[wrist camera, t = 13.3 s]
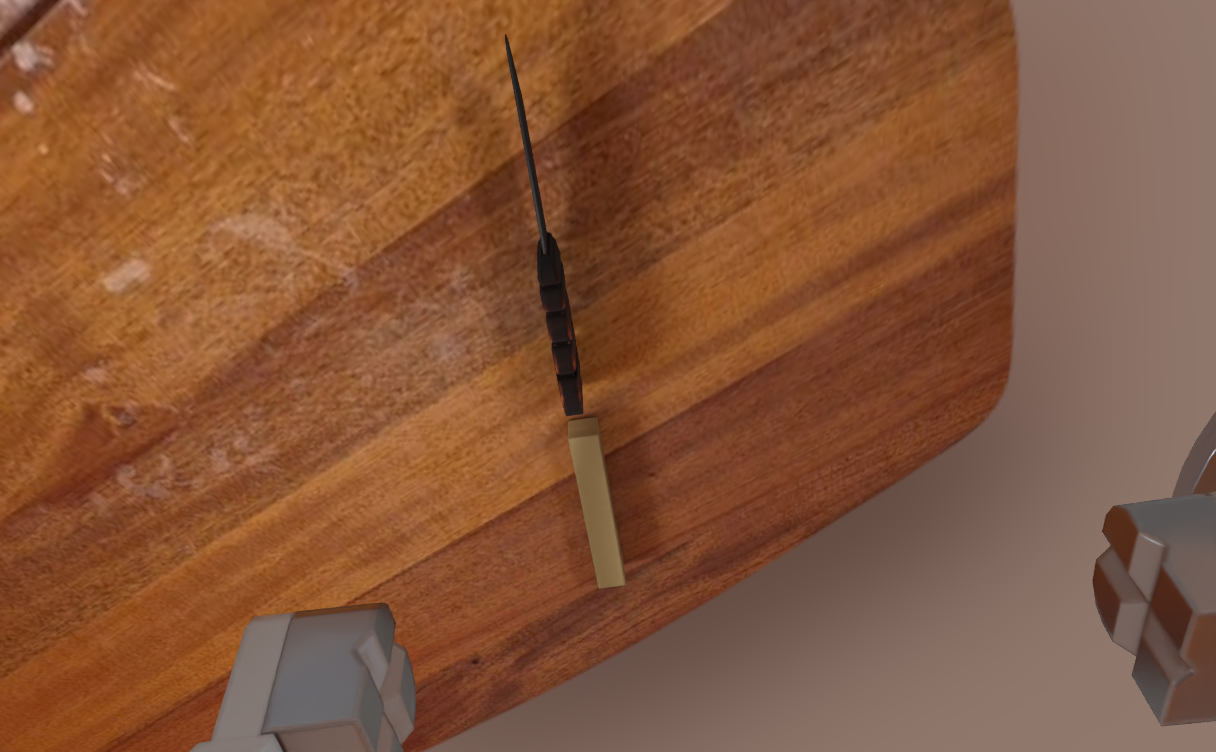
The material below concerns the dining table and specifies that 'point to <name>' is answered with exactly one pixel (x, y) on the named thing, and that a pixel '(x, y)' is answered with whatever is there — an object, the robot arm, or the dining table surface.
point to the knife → (552, 281)
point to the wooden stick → (596, 501)
